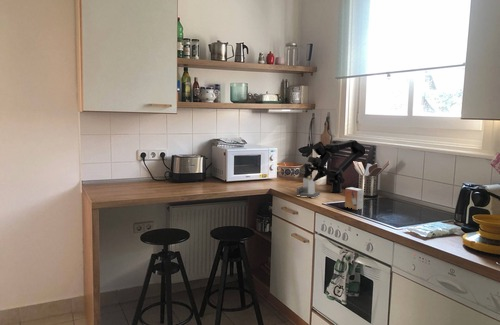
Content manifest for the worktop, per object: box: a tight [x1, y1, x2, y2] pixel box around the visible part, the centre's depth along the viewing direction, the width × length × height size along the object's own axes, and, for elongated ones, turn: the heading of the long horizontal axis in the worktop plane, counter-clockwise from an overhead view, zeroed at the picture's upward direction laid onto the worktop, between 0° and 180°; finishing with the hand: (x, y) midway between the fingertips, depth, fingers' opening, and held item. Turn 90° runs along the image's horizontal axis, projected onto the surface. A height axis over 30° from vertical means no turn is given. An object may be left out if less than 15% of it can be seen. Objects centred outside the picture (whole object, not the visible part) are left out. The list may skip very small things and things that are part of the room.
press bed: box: [295, 185, 321, 198], centre depth 252 cm, size 10×11×5 cm
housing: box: [302, 175, 316, 194], centre depth 251 cm, size 5×5×10 cm
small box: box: [344, 186, 364, 211], centre depth 221 cm, size 8×6×10 cm
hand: (308, 179), depth 250 cm, fingers open, 9 cm apart
